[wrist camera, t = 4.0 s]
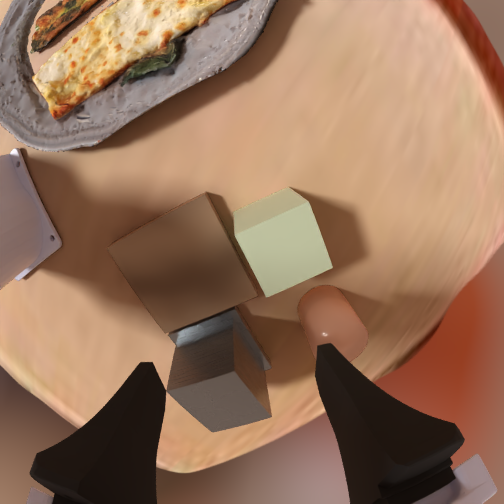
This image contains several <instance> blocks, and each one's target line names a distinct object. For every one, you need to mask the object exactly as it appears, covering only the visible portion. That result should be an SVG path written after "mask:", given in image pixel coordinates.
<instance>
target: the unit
mask: <svg viewBox="0 0 504 504" xmlns="http://www.w3.org/2000/svg"><path fill="white" fill-rule="evenodd" d="M168 336H169V337H170V338H171V340H172V341H173V342H174V343H175V345H176V347H175V352H174V356H173V361H172V366H171V370H170V375H169V380H168V385H167V390H166V391H167V392H168V393H169V394H170V395H171V396H172V397H173V398H174V399H175V400H176V401H177V402H178V403H179V404H180V405H181V406H182V407H183V408H185V409H186V410H187V411H188V412H189V413H190V414H191V415H192V416H193V417H195V418H196V419H197V420H198V421H199V422H200V423H202V424H203V425H204V426H205V427H206V428H208V429H209V430H210V431H211V432H217V431H221V430H226V429H230V428H234V427H238V426H242V425H246V424H250V423H253V422H257V421H260V420H264V419H267V418H270V417H272V414H271V408H270V401H269V395H268V389H267V382H266V376H265V370H268V369H271V368H272V367H271V362H270V360H269V359H268V357H267V355H266V354H265V352H264V351H263V349H262V347H261V346H260V344H259V343H258V341H257V339H256V338H255V336H254V334H253V333H252V331H251V329H250V328H249V326H248V325H247V323H246V321H245V320H244V318H243V316H242V315H241V313H240V311H239V310H238V308H237V306H233V307H231V308H228V309H226V310H224V311H221V312H219V313H216V314H214V315H211V316H209V317H206V318H204V319H201V320H199V321H196V322H194V323H191V324H189V325H186V326H184V327H181V328H178V329H176V330H173V331H170V332H169V335H168Z"/></svg>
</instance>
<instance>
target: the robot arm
mask: <svg viewBox="0 0 504 504" xmlns="http://www.w3.org/2000/svg"><path fill="white" fill-rule="evenodd" d="M19 162H20V166H19ZM52 235H53V236H54V238H55V239H53V237H52ZM61 246H62V241H61V239H60V237H59V235H58V233H57V232H56V230H55V228H54V226H53V224H52V222H51V220H50V218H49V216H48V214H47V212H46V210H45V208H44V206H43V204H42V202H41V200H40V198H39V196H38V193H37V191H36V189H35V187H34V184H33V182H32V180H31V177H30V175H29V172H28V170H27V167H26V165H25V162H24V160H23V157H22V154H21V151H20V149H19V148H14V149H13V150H12V151H11V153H10V154H7V155H1V156H0V290H1V289H2V288H3V287H5V286H6V285H7V284H8V283H9V282H10V281H12V280H13V279H14V278H15V279H16V280H17V281H20V280H21V279H22V278H23V277H24V276H25V275H27V274H28V273H29V272H30V271H31V270H33V269H34V268H35V267H36V266H37V265H39V264H40V263H41V262H42V261H44V260H45V259H46V258H47V257H49V256H50V255H51V254H53V253H54V252H55V251H56V250H58V249H59V248H60V247H61ZM315 378H316V382H317V386H318V390H319V394H320V397H321V400H322V402H323V405H324V407H325V410H326V412H327V415H328V417H329V420H330V423H331V425H332V427H333V430H334V432H335V435H336V439H337V442H338V445H339V450H340V454H341V458H342V462H343V466H344V471H345V476H346V481H347V485H348V491H349V498H350V504H483V503H484V502H485V501H487V500H488V499H489V498H490V497H491V496H493V495H494V494H495V493H496V492H497V488H496V487H495V484H494V482H493V480H492V478H491V476H490V475H489V473H488V471H487V469H486V467H485V465H484V463H483V461H482V460H481V458H480V456H479V454H475V455H474V456H472V457H471V458H470V459H468V460H467V461H465V462H464V463H462V464H460V465H459V466H458V467H456V468H455V469H453V470H452V469H451V467H450V466H451V465H452V464H453V462H452V460H451V458H450V457H451V456H452V455H453V454H454V453H455V452H456V451H457V450H458V449H459V448H460V447H461V446H462V445H463V443H464V440H465V439H464V437H463V436H462V434H461V432H460V430H459V429H458V427H457V426H456V425H455V424H454V423H451V422H448V421H444V420H441V419H438V418H434V417H432V416H429V415H427V414H424V413H422V412H419V411H417V410H415V409H413V408H411V407H409V406H407V405H405V404H403V403H402V402H400V401H398V400H397V399H395V398H393V397H392V396H390V395H389V394H387V393H386V392H384V391H383V390H382V389H380V388H379V387H378V386H376V385H375V384H374V383H373V382H371V381H370V380H369V379H368V378H367V377H365V376H364V375H363V374H362V373H361V372H360V371H359V370H358V369H356V368H355V367H354V366H353V365H352V364H351V363H350V362H349V361H348V360H347V359H346V358H345V357H344V356H343V355H342V354H341V353H340V352H339V351H338V349H337V348H336V347H335V346H334V345H333V344H332V343H327V344H322V345H317V356H316V371H315ZM165 403H166V390H165V387H164V385H163V383H162V381H161V379H160V377H159V375H158V373H157V371H156V369H155V366H154V364H153V362H140V363H139V365H138V366H137V367H136V368H135V370H134V371H133V372H132V373H131V375H130V376H129V377H128V378H127V380H126V381H125V382H124V384H123V385H122V386H121V387H120V388H119V390H118V391H117V392H116V393H115V395H114V396H113V397H112V398H111V399H110V400H109V401H108V402H107V404H106V405H105V406H104V407H103V408H102V409H101V410H100V411H99V412H98V413H97V414H96V415H95V416H94V417H93V418H92V419H91V420H90V421H88V422H87V423H86V424H85V425H84V426H82V427H81V428H80V429H78V430H77V431H76V432H75V433H73V434H72V435H70V436H69V437H68V438H66V439H64V440H63V441H61V442H59V443H58V444H56V445H54V446H52V447H50V448H48V449H46V450H44V451H41V452H39V453H37V454H36V457H35V459H34V462H33V465H32V468H31V470H30V475H31V477H32V478H33V479H34V480H36V481H37V482H38V483H40V484H41V485H43V486H44V487H46V488H47V489H49V490H50V491H52V492H53V493H55V494H54V497H52V496H50V495H48V494H46V493H44V492H42V491H40V490H38V489H36V488H34V487H31V489H30V492H29V496H28V499H27V503H26V504H157V499H156V457H157V449H158V443H159V438H160V433H161V428H162V423H163V418H164V412H165Z"/></svg>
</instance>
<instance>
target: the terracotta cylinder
mask: <svg viewBox="0 0 504 504" xmlns="http://www.w3.org/2000/svg"><path fill="white" fill-rule="evenodd" d="M298 315H299V318H300V321H301V323H302V326H303V329H304V331H305V334H306V337H307V339H308V342H309V345H310V347H311V350H312V353H313V355H314V358H315V360H316V356H317V345H322V344H327V343H332V344H333V345H334V346H335V347H336V348H337V349H338V351H339V352H340V353H341V354H342V355H343V356H344V357H345V358H346V359H347V360H348V361H349V362H351V361H352V360H354V359H355V358H357V357H358V356H359V355H360V354H361V353H362V351H363V350H364V349H365V347H366V345H367V343H368V337H369V336H368V331H367V329H366V328H365V326H364V325H363V323H362V322H361V320H360V319H359V317H358V316H357V314H356V313H355V311H354V310H353V308H352V307H351V305H350V304H349V303H348V301H347V300H346V298H345V297H344V295H343V294H342V292H341V291H340V290H339V289H338V288H336V287H334V286H330V285H322V286H318V287H315V288H313V289H311V290H310V291H308V292H307V293H306V294H305V295H304V296H303V297H302V299H301V300H300V302H299V305H298Z"/></svg>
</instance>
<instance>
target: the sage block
mask: <svg viewBox="0 0 504 504" xmlns="http://www.w3.org/2000/svg"><path fill="white" fill-rule="evenodd" d="M233 213H234V234H235V237H236V239H237V241H238V243H239V245H240V247H241V249H242V251H243V253H244V255H245V257H246V259H247V261H248V262H249V264H250V266H251V268H252V270H253V272H254V274H255V276H256V278H257V280H258V282H259V284H260V286H261V288H262V290H263V292H264V294H265V296H266V297H269V296H272V295H274V294H276V293H279V292H281V291H283V290H285V289H288V288H290V287H292V286H294V285H297V284H299V283H301V282H303V281H306V280H308V279H310V278H312V277H314V276H316V275H319V274H321V273H323V272H325V271H327V270H329V269H331V268H333V266H332V263H331V260H330V258H329V255H328V252H327V249H326V246H325V243H324V241H323V238H322V235H321V232H320V230H319V227H318V224H317V222H316V219H315V216H314V214H313V211H312V209H311V206H310V204H309V201H307V200H306V199H305V198H303V197H302V196H301V195H299V194H298V193H296V192H295V191H294V190H292V189H291V188H289V187H287V188H284V189H282V190H280V191H278V192H275V193H273V194H271V195H269V196H267V197H264V198H262V199H260V200H258V201H256V202H253V203H251V204H249V205H247V206H245V207H243V208H240V209H238V210H236V211H234V212H233Z"/></svg>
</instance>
